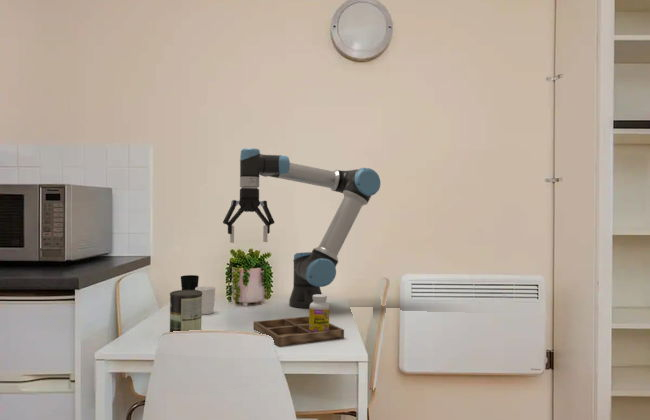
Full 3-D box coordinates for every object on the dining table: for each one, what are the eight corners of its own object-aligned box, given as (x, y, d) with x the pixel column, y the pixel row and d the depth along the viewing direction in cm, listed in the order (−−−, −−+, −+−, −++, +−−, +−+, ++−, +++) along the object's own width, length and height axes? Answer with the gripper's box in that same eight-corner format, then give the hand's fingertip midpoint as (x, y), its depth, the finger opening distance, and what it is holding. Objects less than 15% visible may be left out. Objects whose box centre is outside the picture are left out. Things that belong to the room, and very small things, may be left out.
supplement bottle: (311, 337, 159) (311, 297, 159) (307, 332, 165) (307, 294, 165) (331, 336, 160) (331, 296, 160) (326, 331, 167) (327, 293, 167)
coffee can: (164, 338, 157) (165, 294, 157) (175, 330, 167) (175, 289, 167) (196, 339, 157) (197, 295, 157) (205, 331, 167) (206, 290, 167)
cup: (190, 301, 220) (191, 274, 220) (202, 303, 216) (202, 276, 216) (176, 303, 214) (176, 276, 214) (188, 306, 210) (188, 278, 210)
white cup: (200, 315, 191) (200, 290, 191) (191, 312, 197) (191, 287, 197) (218, 313, 196) (218, 288, 196) (209, 310, 202) (209, 285, 202)
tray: (313, 323, 181) (313, 315, 181) (343, 338, 160) (344, 329, 160) (253, 329, 170) (253, 321, 170) (278, 346, 150) (278, 337, 150)
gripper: (220, 186, 184) (220, 243, 184) (282, 188, 195) (282, 242, 195) (215, 187, 190) (214, 242, 190) (275, 189, 202) (275, 241, 202)
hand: (248, 242), depth 193 cm, fingers open, 13 cm apart
